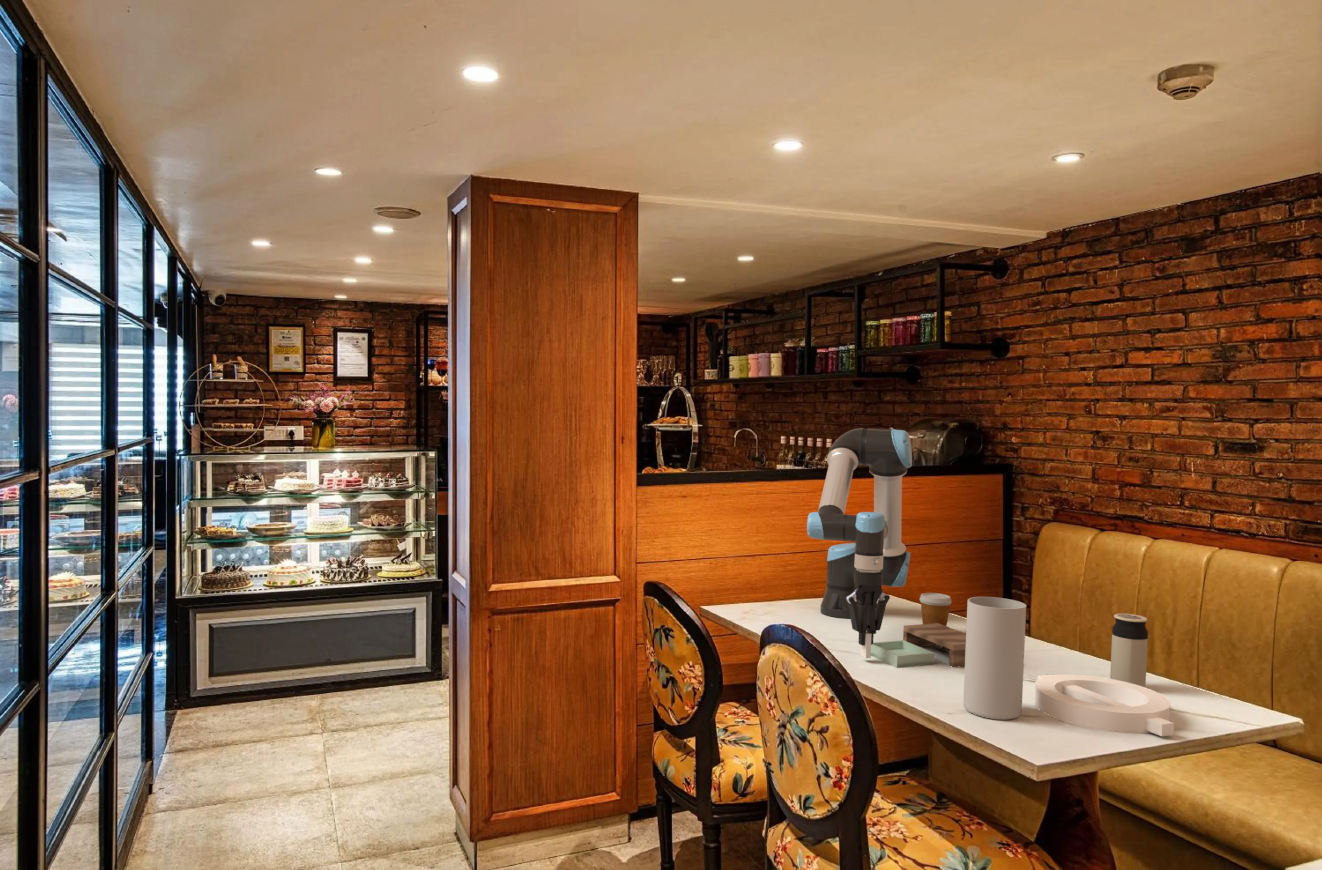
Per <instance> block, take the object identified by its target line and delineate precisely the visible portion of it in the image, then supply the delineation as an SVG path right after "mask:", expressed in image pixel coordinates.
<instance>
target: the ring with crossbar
mask: <svg viewBox="0 0 1322 870" xmlns="http://www.w3.org/2000/svg"><path fill="white" fill-rule="evenodd" d="M1033 698H1034V700H1033V701H1034V702H1035V703H1034V702H1033V703H1034V706H1035V705H1036V706H1037V707H1038V708H1039V709H1040V710H1042V711H1043V712H1045V713H1047V714H1049V715H1050V716H1049V715H1048V716H1049V717H1051V716H1052V717H1051V718H1053V717H1055V718H1054V719H1056V718H1057V720H1058V719H1059V721H1061V722H1064V721H1065V723H1068V724H1071V725H1075V726H1078V727H1082V728H1087V729H1093V730H1098V731H1102V732H1112V733H1119V734H1121V733H1122V734H1150V733H1152V734H1154V735H1157V736H1160V737H1166V736H1167V737H1168V736H1173V735H1174V730H1175V729H1174V727H1175V723H1174V722H1171V721H1170V719H1171V718H1170V715H1171V702H1170V699H1168V698H1167V697H1166V696H1165V695H1163V694H1161V693H1159V692H1158V691H1155V690H1153V689H1150V688H1147V687H1146V686H1145V687H1142V686H1139V685H1136V684H1132V683H1128V682H1124V681H1119V680H1114V679H1110V678H1108V677H1101V676H1093V675H1084V674H1054V675H1050V674H1041V675H1037V680H1036V681H1035V683H1034V697H1033ZM1036 706H1035V707H1036ZM1037 707H1036V708H1037ZM1038 708H1037V709H1038ZM1039 709H1038V710H1039ZM1040 710H1039V711H1040ZM1042 711H1041V712H1042ZM1043 712H1042V713H1043ZM1045 713H1044V714H1045ZM1047 714H1046V715H1047Z"/></svg>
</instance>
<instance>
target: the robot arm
mask: <svg viewBox="0 0 1322 870" xmlns="http://www.w3.org/2000/svg"><path fill="white" fill-rule="evenodd" d="M912 453H913V449H912V443H911V438H910V434H909V432H907V431H906V430H903V429H902V430H901V429H894V428H863V427H859V428H854V429H851V430H848V431H847V432H845V433H842V434H841V435H840V436H838V437H837V439H836V440H835V441H834V442H833V443H832V445H831V447H830V448H829V450H828V452H827V457H826V462H827V465H828V468H827V471H826V476H825V480H824V484H823V489H822V492H821V496H820V499H819V500H820V502H819V505H818V510H817V511H815V512H813V511H812V512H810V513H809V514H808V516H807V520H806V522H807V523H806V531H807V536H808V537H809V538H811V539H816V540H821V541H840V542H844V541H845V542H848V543H840V544H835V545H831V546H830V547H829V548H828V551H827V559H826V561H827V565H826V566H827V567H826V588H825V592H824V595H823V597H822V601H821V603H820V613H821V614H823V615H824V616H829V617H832V618H840V619H841V618H842V619H850V623H851V628H852V631H855V632H858V645H859V646H860V650H859V651H860V653H859V654H860V655H859V656H861V657H862V658H864V659H871V657H872V656H871V645H873V642H874V637H875V636H874V635H876V634H877V631H878V632H879V631H880V630H881V628H882V624H883V620H884V616H885V612H886V609H887V604H888V602H889V600H890V598H891V597H890V595H888V594H886V593H884V592H883V588H882V587H890V588H893V587H895V588H896V587H897V588H901V587H904V586H905V585H906V582H907V578H908V572H909V565H910V560H911V552H909V551H908V550H906V549H907V547H906V545H905V544H904V543H903V542H902V501H903V500H902V499H903V498H902V497H903V495H902V493H903V491H902V489H903V476H905V475H906V474H907V472H908V469H909V468H911V467H912V466H913V454H912ZM858 466H868V468H869V471H868V472H869V474H871V475H872V476H873V508H874V509H873V511H860V512H858V513H857V514H845V513H846V507H847V503H848V500H849V499H848V498H849V493H850V489H851V484H852V479H853V475H854V474H853V473H854V470H856V469H857V468H858Z"/></svg>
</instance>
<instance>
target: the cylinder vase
mask: <svg viewBox="0 0 1322 870" xmlns="http://www.w3.org/2000/svg"><path fill="white" fill-rule="evenodd" d="M966 602H967V604H966V605H967V607H966V627H965V628H966V630H965V633H966V651H965V666H964V677H963V680H964V681H963V700H962V701H963V702H962V703H963V707H964V710H966V711H969V712H968V713H970V714H972V713H973V714H972V715H974V714H975V716H977V715H978V716H977V717H980V716H981V718H984V717H985V718H986V719H989V718H990V720H998V721H999V720H1000V721H1006V720H1007V721H1008V720H1009V721H1010V720H1014V719H1018V718H1019V717H1020V716H1021V714H1022V711H1023V709H1022V708H1023V692H1024V691H1023V689H1024V688H1023V687H1024V685H1023V684H1024V669H1025V668H1024V667H1025V665H1024V664H1025V663H1024V662H1025V645H1026V644H1025V643H1026V642H1025V641H1026V618H1027V616H1026V615H1027V604H1026V603H1024V602H1021V601H1019V600H1015V599H1011V598H1010V599H1009V598H1002V597H994V596H974V597H970V598H967V601H966ZM985 718H984V719H985Z"/></svg>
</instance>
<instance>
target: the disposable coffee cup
mask: <svg viewBox="0 0 1322 870" xmlns="http://www.w3.org/2000/svg"><path fill="white" fill-rule="evenodd" d="M918 600H919V601H920V606H921V618H922V619H921V620H922V624H934V623H939V624H941V625H944V626H947V627H948V619H949V614H950V607H951V604H952V603H953V601H952V598H951V596H950V595H947V594H944V593H938V592H925V593H921V594H920V597H919V599H918Z"/></svg>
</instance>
